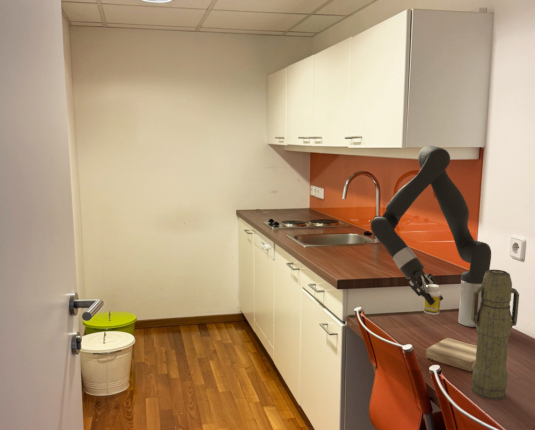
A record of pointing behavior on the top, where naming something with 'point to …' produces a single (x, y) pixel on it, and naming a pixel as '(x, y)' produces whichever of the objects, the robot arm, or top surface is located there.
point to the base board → (453, 353)
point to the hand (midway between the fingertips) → (437, 301)
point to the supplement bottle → (436, 296)
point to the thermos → (493, 333)
